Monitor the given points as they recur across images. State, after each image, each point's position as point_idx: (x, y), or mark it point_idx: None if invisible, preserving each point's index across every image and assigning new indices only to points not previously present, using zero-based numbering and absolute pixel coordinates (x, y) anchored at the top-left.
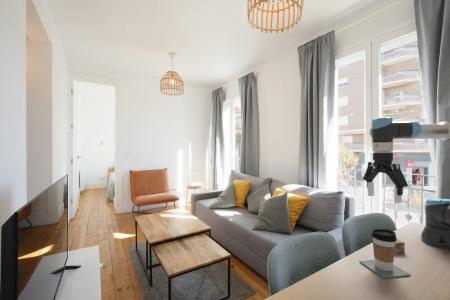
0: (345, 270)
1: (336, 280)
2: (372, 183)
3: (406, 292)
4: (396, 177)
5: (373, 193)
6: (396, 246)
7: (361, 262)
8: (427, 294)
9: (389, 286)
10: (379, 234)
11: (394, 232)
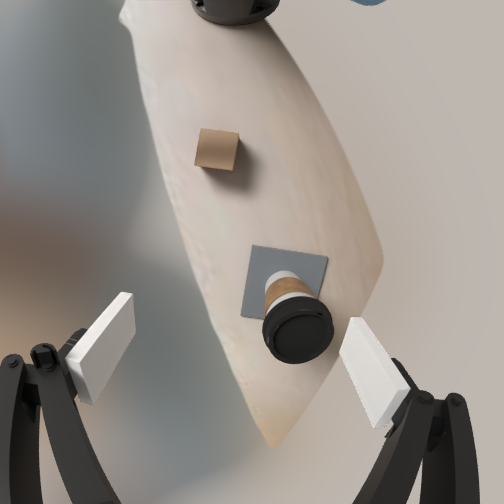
0: (257, 364)
1: (276, 394)
2: (88, 367)
3: None
4: (421, 490)
5: (127, 307)
6: (233, 165)
7: (246, 316)
8: (371, 289)
9: None
10: (305, 361)
11: (324, 316)
